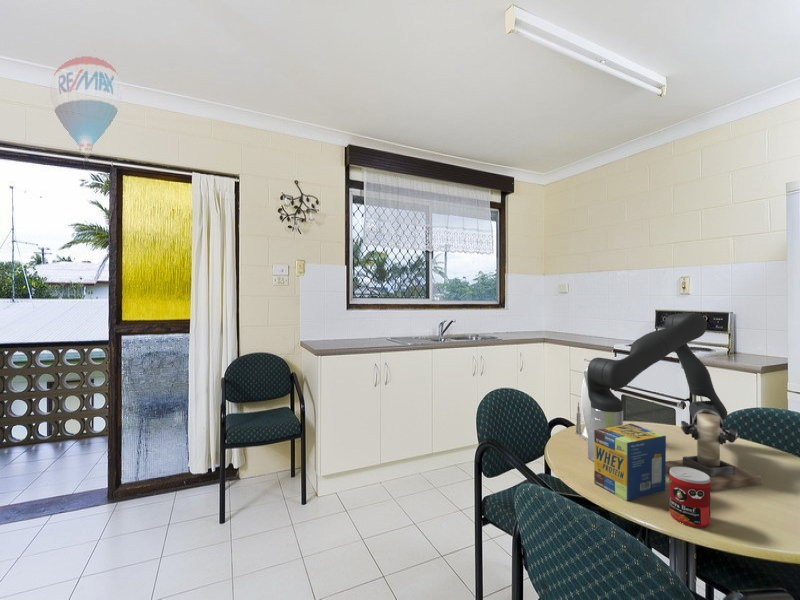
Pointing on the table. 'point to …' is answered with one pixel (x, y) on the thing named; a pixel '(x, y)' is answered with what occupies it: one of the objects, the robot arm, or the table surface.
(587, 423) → the skyscraper
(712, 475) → the base board
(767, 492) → the table surface
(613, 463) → the protein box
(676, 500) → the canned food
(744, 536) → the table surface
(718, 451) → the birch column
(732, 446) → the table surface
